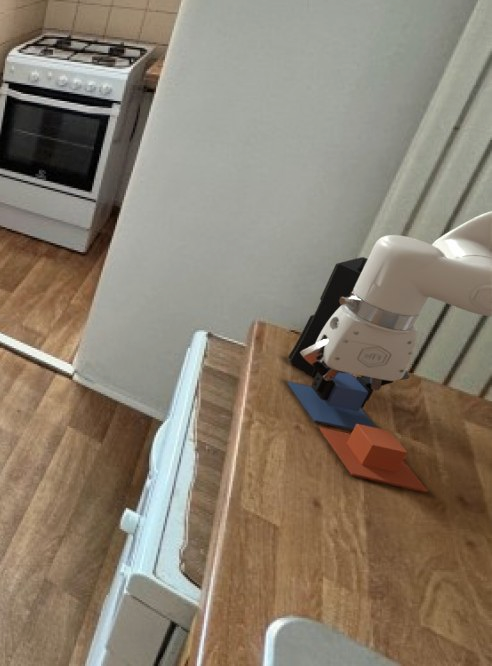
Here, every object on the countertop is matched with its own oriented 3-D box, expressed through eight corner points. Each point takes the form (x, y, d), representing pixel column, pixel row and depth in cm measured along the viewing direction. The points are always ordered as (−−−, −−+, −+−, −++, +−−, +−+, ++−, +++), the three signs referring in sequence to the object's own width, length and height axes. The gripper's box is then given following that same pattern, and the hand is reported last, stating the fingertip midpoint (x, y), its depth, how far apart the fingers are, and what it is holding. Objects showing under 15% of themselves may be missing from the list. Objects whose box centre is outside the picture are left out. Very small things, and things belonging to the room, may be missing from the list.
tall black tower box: (312, 351, 116) (362, 240, 107) (349, 373, 110) (406, 258, 101) (284, 360, 113) (334, 247, 104) (321, 382, 108) (377, 266, 99)
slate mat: (348, 396, 105) (349, 394, 105) (381, 436, 97) (382, 434, 97) (287, 383, 108) (288, 381, 108) (314, 421, 100) (315, 420, 100)
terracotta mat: (387, 443, 96) (388, 442, 96) (427, 493, 88) (428, 491, 88) (319, 429, 99) (320, 427, 98) (351, 475, 91) (352, 473, 90)
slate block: (343, 393, 103) (352, 374, 102) (358, 411, 99) (368, 392, 98) (313, 387, 104) (322, 368, 103) (327, 405, 101) (337, 386, 99)
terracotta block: (379, 450, 94) (389, 430, 93) (396, 473, 91) (408, 452, 89) (346, 443, 96) (356, 423, 94) (361, 465, 92) (372, 444, 90)
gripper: (329, 313, 94) (288, 401, 101) (467, 337, 89) (414, 428, 96) (304, 286, 101) (267, 370, 107) (431, 307, 96) (383, 394, 103)
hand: (336, 396), depth 102 cm, fingers closed on slate block, 4 cm apart
